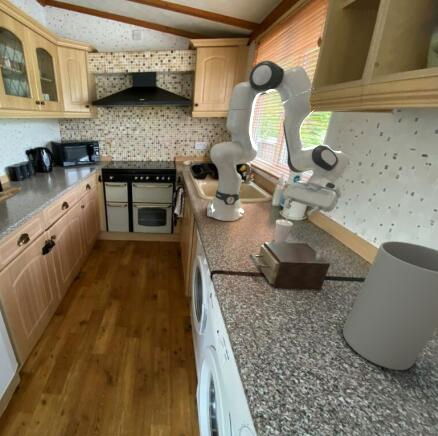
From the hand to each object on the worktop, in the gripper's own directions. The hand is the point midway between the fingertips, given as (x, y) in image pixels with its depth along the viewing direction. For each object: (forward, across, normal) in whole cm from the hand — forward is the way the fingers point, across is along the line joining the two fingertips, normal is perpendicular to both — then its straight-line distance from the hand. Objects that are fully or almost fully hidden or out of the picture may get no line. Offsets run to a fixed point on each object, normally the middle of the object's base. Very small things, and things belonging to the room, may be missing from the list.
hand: (297, 211), depth 102 cm
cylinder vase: (+33, +44, -13) cm, 57 cm away
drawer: (+29, +15, -11) cm, 35 cm away
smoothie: (+15, 0, +5) cm, 15 cm away
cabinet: (+28, +17, -8) cm, 34 cm away
